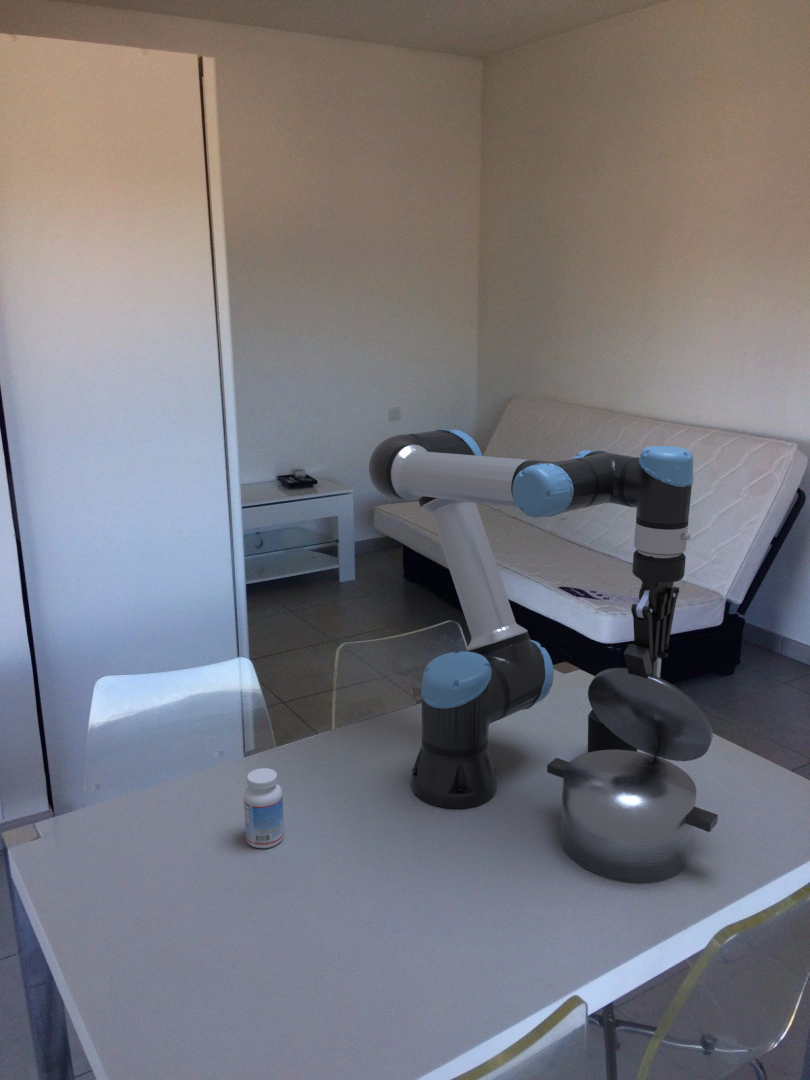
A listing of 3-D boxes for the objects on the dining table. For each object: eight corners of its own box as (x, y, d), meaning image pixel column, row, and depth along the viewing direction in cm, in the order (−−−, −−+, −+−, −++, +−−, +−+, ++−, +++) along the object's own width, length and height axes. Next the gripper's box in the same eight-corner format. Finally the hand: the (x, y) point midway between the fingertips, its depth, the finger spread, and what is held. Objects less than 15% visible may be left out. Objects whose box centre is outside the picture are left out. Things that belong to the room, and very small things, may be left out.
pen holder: (647, 770, 161) (651, 720, 158) (604, 780, 158) (608, 730, 155) (617, 747, 169) (620, 700, 167) (575, 756, 166) (578, 708, 163)
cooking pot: (517, 840, 140) (520, 778, 137) (577, 788, 155) (581, 732, 152) (682, 911, 123) (688, 842, 120) (731, 846, 138) (738, 783, 136)
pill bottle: (291, 833, 141) (289, 770, 139) (270, 853, 136) (267, 789, 133) (259, 824, 144) (257, 762, 141) (238, 844, 139) (234, 780, 136)
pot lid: (571, 640, 135) (579, 628, 137) (599, 738, 150) (606, 725, 151) (699, 673, 123) (706, 659, 125) (716, 776, 138) (722, 762, 139)
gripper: (667, 565, 124) (654, 718, 130) (700, 546, 134) (687, 688, 140) (617, 556, 128) (607, 704, 134) (653, 538, 138) (642, 676, 144)
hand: (648, 696), depth 137 cm, fingers closed
